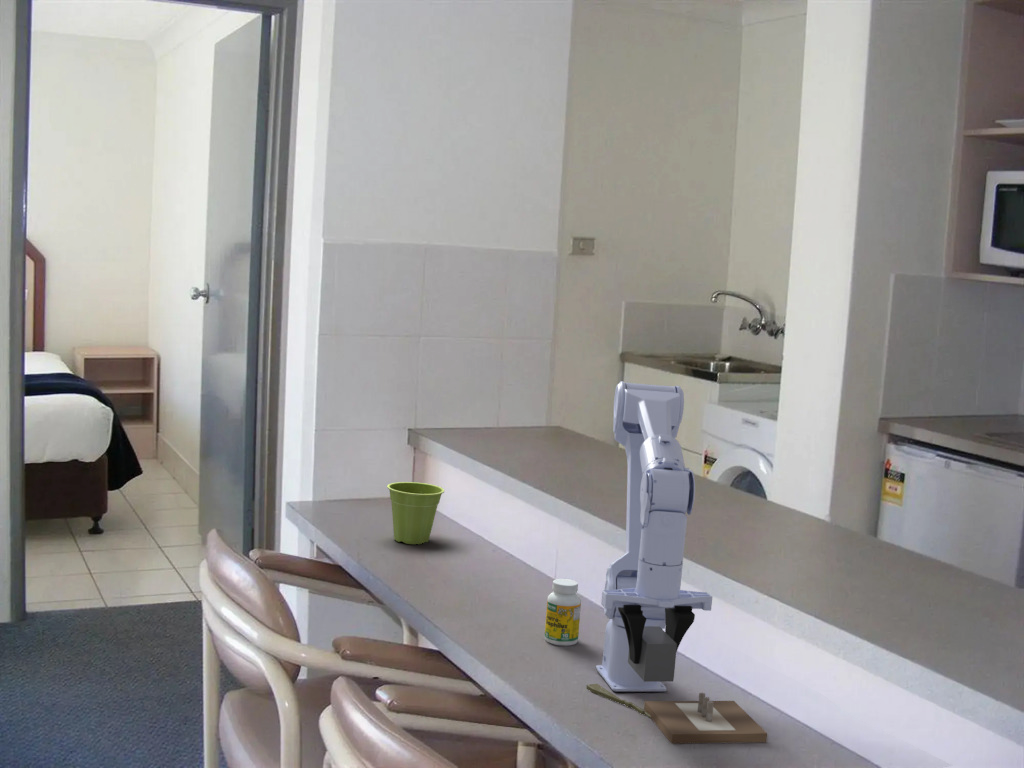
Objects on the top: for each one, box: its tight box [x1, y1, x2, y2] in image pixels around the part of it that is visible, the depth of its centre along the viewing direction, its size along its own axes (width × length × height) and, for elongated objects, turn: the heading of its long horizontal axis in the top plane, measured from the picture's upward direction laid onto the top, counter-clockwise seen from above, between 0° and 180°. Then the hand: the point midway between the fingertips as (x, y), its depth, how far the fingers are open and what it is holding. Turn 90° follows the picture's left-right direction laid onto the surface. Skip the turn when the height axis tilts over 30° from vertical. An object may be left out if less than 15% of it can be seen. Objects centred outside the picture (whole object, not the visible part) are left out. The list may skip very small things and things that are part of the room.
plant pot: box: [386, 481, 445, 545], centre depth 240 cm, size 12×12×11 cm
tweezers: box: [586, 683, 651, 719], centre depth 160 cm, size 12×2×1 cm, turn 38°
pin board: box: [643, 692, 768, 744], centre depth 154 cm, size 11×13×4 cm
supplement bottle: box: [544, 578, 582, 647], centre depth 183 cm, size 5×5×10 cm
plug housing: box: [628, 626, 678, 683], centre depth 153 cm, size 9×4×5 cm, turn 11°
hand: (651, 661), depth 152 cm, fingers closed on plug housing, 4 cm apart
